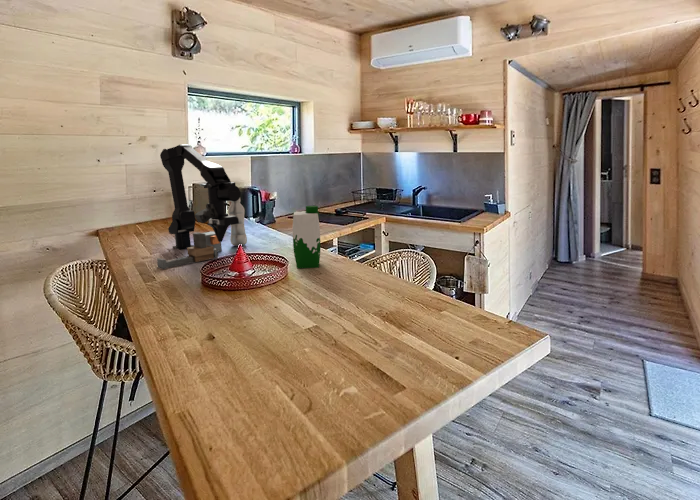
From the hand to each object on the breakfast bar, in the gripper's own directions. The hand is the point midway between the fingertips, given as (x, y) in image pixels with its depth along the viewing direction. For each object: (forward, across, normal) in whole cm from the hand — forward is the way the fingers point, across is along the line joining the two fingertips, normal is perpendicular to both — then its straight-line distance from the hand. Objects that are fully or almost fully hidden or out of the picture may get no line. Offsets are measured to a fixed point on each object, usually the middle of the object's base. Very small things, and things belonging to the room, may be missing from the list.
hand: (220, 241), depth 177 cm
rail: (+5, +3, -15) cm, 16 cm away
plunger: (+1, -6, 0) cm, 7 cm away
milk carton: (+5, +40, +8) cm, 41 cm away
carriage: (+5, +3, -10) cm, 12 cm away
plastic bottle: (+5, -7, +13) cm, 16 cm away
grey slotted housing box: (+5, -8, 0) cm, 9 cm away
